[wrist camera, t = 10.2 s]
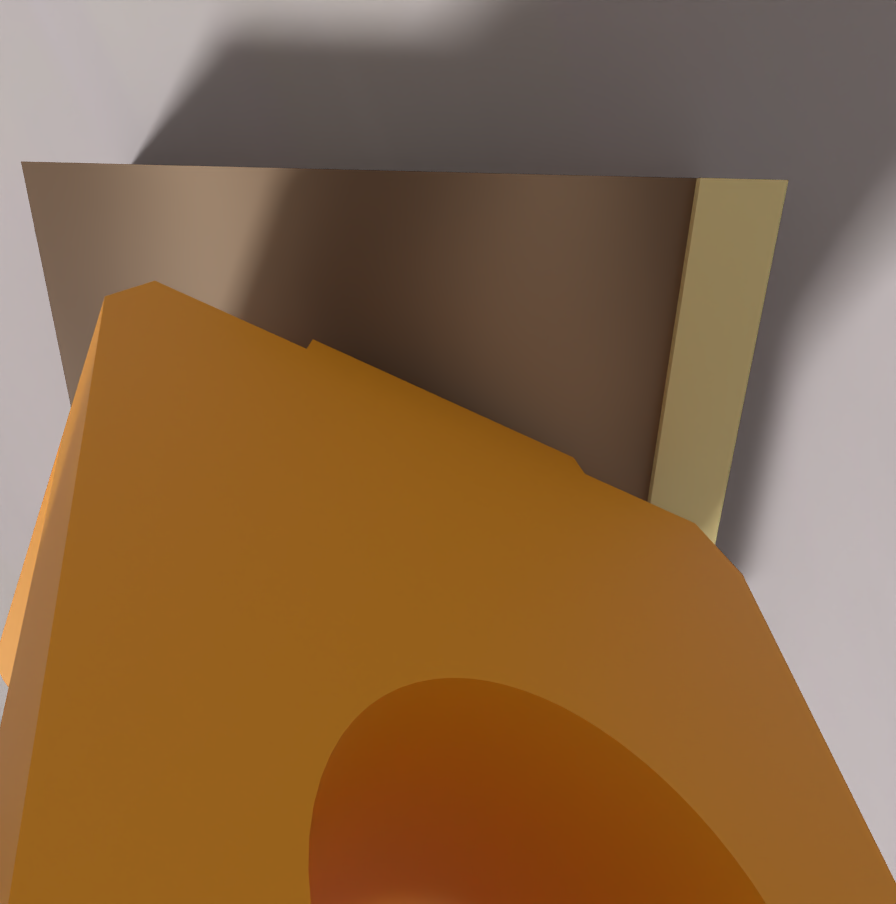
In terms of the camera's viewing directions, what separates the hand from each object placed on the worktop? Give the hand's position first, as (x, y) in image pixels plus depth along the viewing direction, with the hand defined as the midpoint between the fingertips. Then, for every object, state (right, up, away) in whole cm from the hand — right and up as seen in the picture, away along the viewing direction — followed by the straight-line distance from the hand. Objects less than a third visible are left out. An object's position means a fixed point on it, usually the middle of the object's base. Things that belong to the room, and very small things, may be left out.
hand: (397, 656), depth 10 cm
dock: (0, +3, +8) cm, 9 cm away
